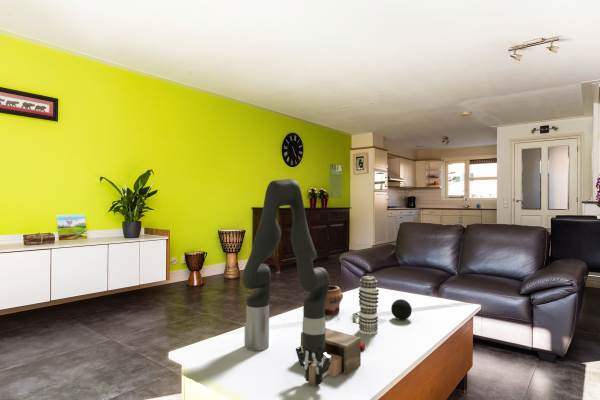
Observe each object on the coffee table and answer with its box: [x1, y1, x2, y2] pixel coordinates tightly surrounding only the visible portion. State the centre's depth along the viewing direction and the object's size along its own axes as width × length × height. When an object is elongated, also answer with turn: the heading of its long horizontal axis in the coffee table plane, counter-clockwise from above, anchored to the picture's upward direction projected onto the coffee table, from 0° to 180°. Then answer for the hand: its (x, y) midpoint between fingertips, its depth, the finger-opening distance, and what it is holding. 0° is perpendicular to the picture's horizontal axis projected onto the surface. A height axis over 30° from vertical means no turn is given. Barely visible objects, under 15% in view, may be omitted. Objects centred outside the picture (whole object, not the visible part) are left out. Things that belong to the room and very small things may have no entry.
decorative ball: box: [390, 298, 412, 321], centre depth 184 cm, size 10×10×10 cm
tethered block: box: [308, 353, 343, 388], centre depth 122 cm, size 5×15×6 cm, turn 142°
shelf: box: [300, 327, 362, 376], centre depth 134 cm, size 20×10×10 cm, turn 52°
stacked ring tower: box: [358, 275, 380, 335], centre depth 166 cm, size 9×9×25 cm
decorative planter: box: [325, 285, 344, 316], centre depth 192 cm, size 20×12×14 cm, turn 141°
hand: (313, 382), depth 118 cm, fingers closed on tethered block, 3 cm apart
